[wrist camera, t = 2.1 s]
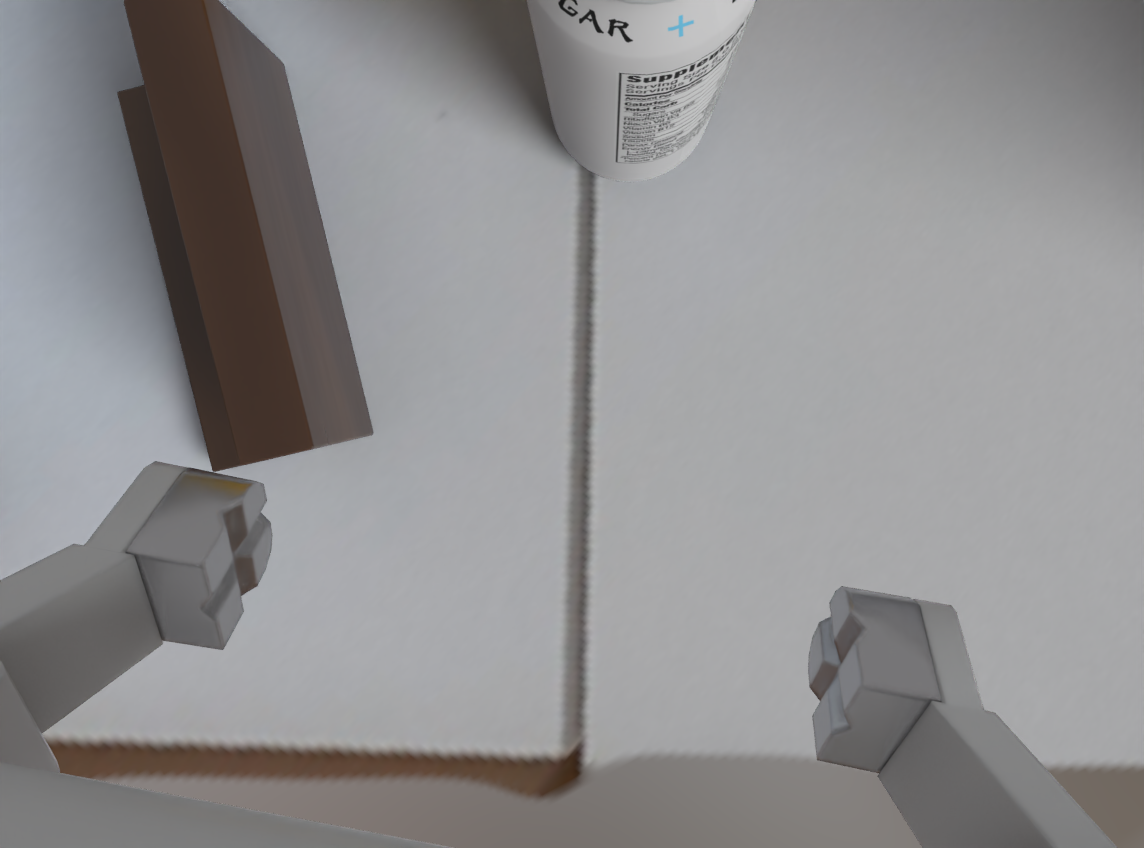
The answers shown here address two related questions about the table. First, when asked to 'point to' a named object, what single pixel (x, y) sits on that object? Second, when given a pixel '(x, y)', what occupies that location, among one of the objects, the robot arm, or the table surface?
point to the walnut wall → (239, 236)
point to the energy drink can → (635, 77)
